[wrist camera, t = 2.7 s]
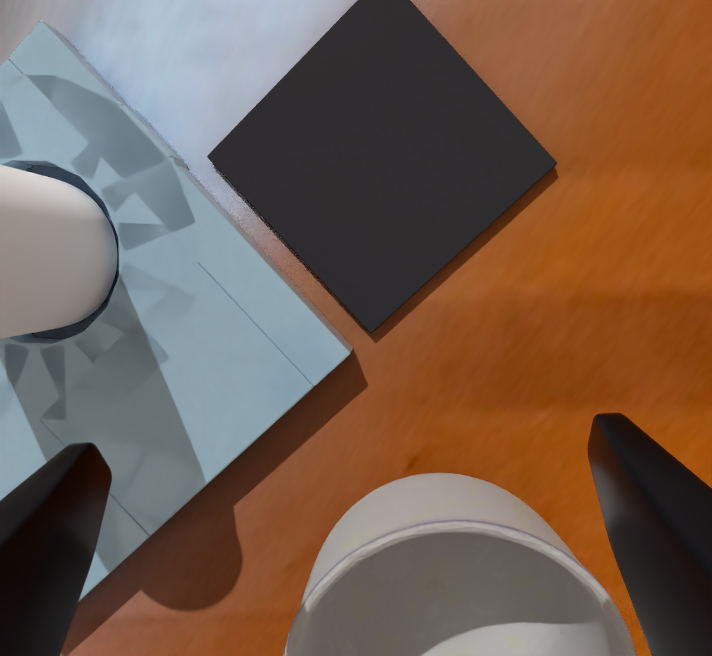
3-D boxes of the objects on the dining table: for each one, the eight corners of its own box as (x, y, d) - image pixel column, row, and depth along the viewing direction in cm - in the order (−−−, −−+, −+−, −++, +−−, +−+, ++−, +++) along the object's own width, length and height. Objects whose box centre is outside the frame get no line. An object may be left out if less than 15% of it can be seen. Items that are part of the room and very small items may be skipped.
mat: (371, 332, 23) (370, 333, 23) (209, 158, 23) (206, 156, 22) (555, 165, 22) (557, 163, 21) (384, -23, 21) (384, -29, 21)
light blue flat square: (49, 626, 26) (30, 646, 25) (-231, 333, 26) (-268, 336, 24) (356, 346, 23) (353, 351, 22) (45, 11, 23) (22, -5, 21)
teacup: (276, 505, 24) (215, 621, 16) (498, 399, 23) (549, 470, 15) (419, 765, 25) (426, 995, 17) (641, 678, 24) (761, 886, 16)
